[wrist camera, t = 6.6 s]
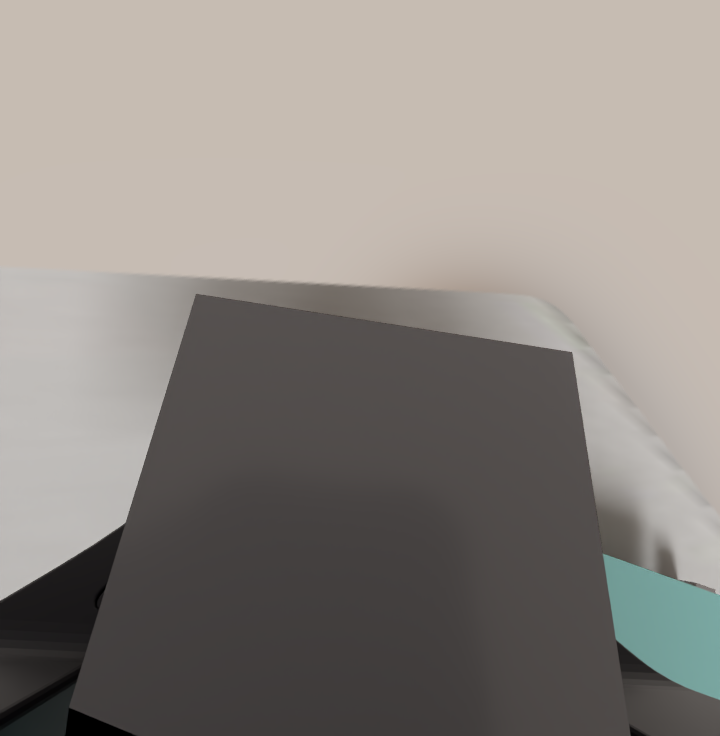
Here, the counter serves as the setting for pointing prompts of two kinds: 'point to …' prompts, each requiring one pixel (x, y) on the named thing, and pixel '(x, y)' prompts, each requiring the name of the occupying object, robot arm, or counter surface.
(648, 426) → the counter surface
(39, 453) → the counter surface
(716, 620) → the trapdoor
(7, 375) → the counter surface
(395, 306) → the counter surface
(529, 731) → the gray metal handle
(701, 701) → the robot arm
